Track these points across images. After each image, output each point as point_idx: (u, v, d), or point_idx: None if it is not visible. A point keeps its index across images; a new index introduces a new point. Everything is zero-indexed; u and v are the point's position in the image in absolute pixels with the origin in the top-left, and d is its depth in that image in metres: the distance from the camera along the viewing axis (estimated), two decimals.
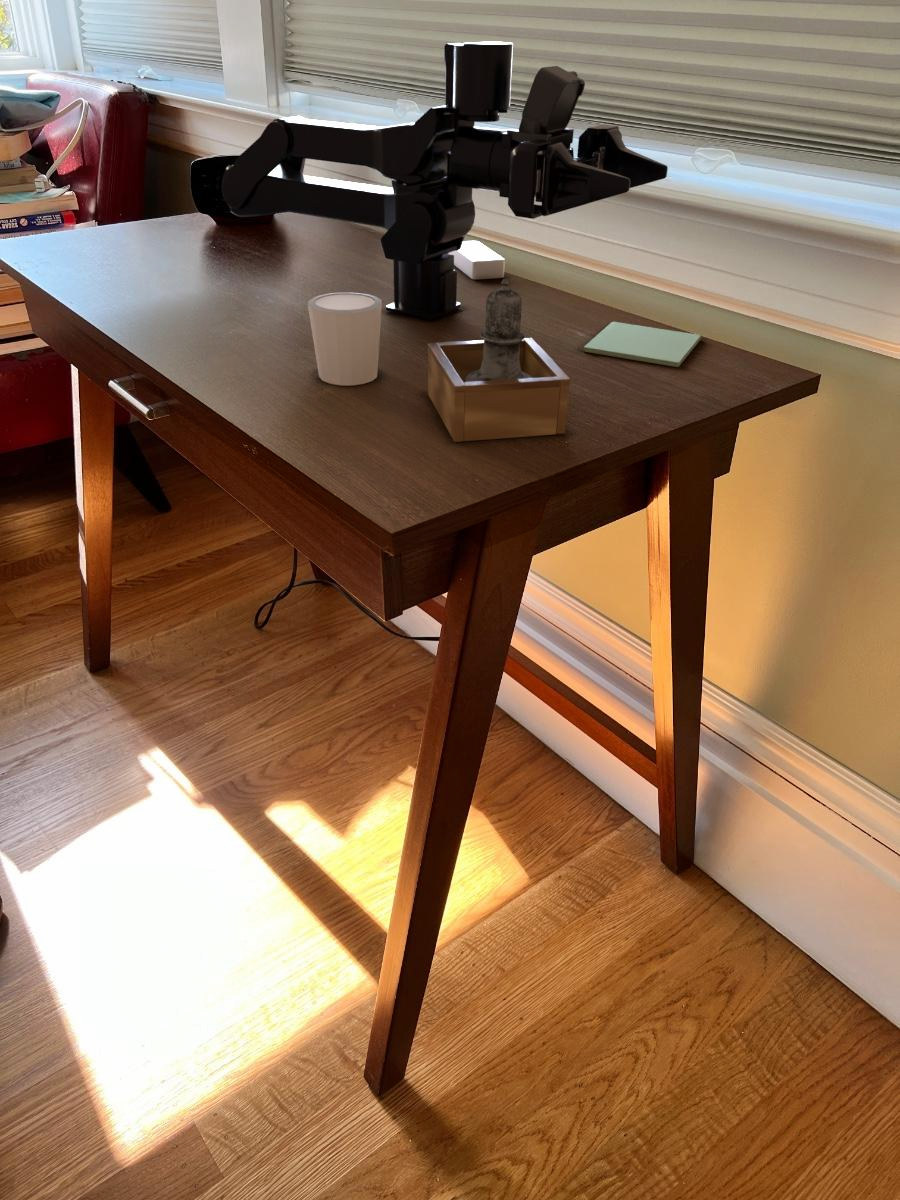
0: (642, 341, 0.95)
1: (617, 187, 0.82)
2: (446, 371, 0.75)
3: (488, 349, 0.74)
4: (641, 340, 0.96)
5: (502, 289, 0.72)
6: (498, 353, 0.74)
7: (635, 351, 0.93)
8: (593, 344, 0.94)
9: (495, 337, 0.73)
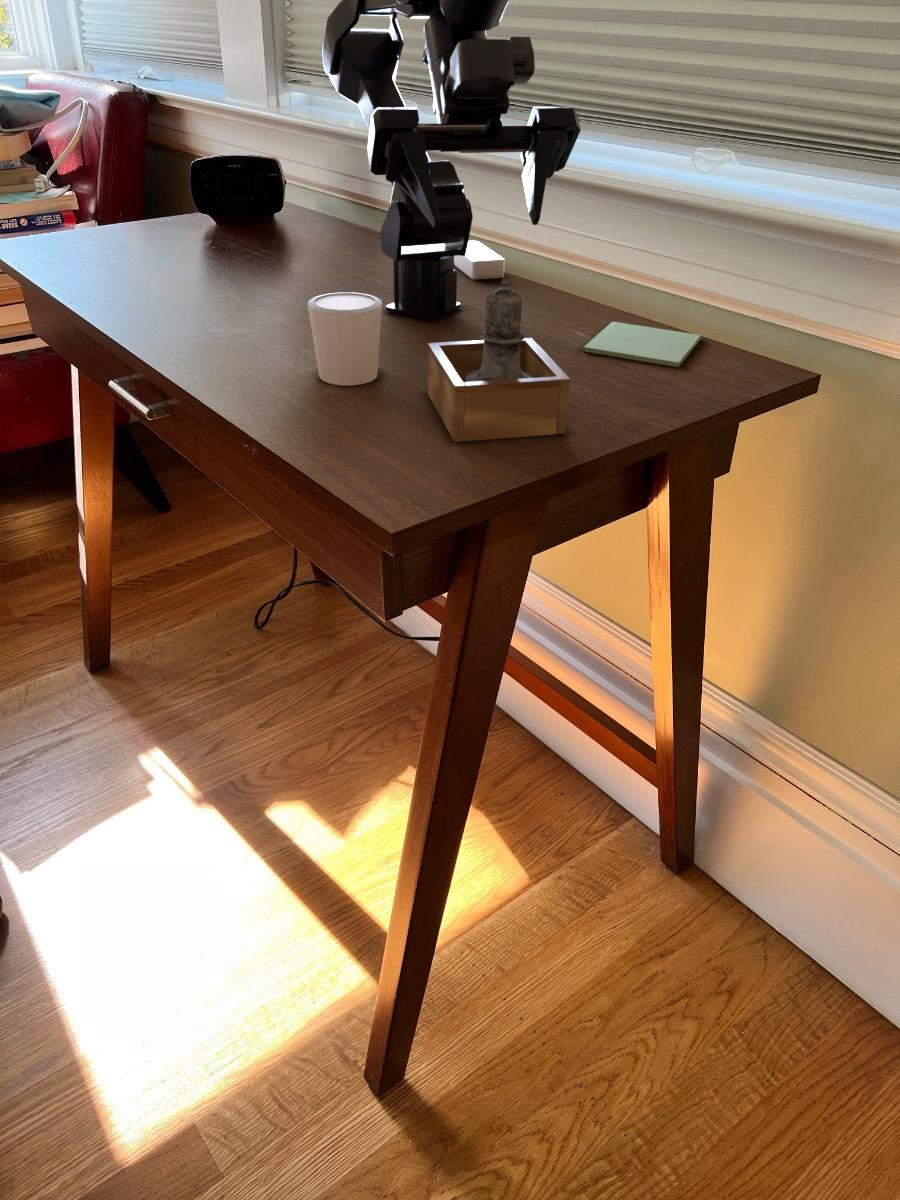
0: (642, 341, 0.95)
1: (429, 217, 0.80)
2: (446, 371, 0.75)
3: (488, 349, 0.74)
4: (641, 340, 0.96)
5: (502, 289, 0.72)
6: (498, 354, 0.74)
7: (635, 351, 0.93)
8: (593, 344, 0.94)
9: (495, 337, 0.73)
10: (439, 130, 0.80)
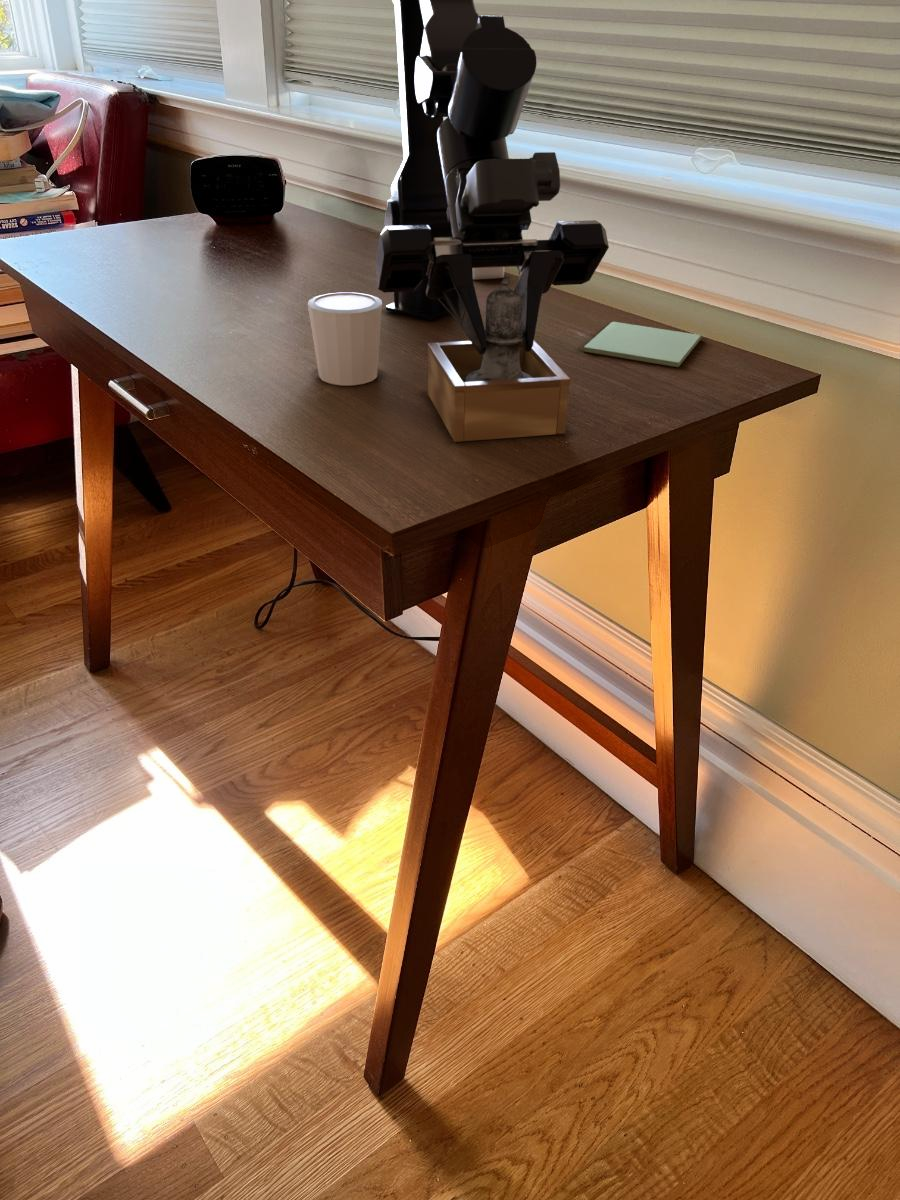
0: (642, 341, 0.95)
1: (475, 342, 0.74)
2: (446, 371, 0.75)
3: (488, 349, 0.74)
4: (641, 340, 0.96)
5: (502, 289, 0.72)
6: (498, 354, 0.74)
7: (635, 351, 0.93)
8: (593, 344, 0.94)
9: (495, 337, 0.73)
10: None
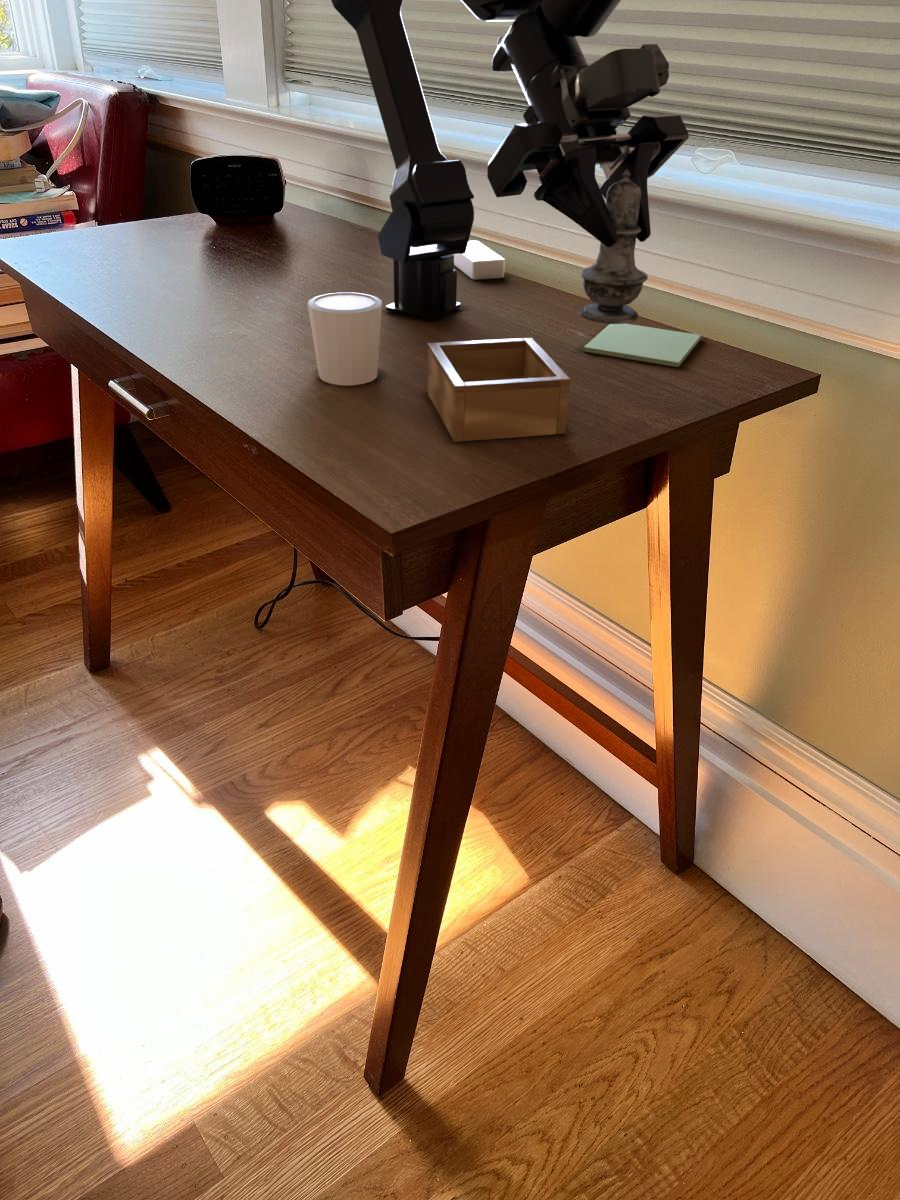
0: (642, 341, 0.95)
1: (603, 236, 0.76)
2: (446, 371, 0.75)
3: None
4: (641, 340, 0.96)
5: (626, 181, 0.75)
6: (623, 245, 0.77)
7: (635, 351, 0.93)
8: (593, 344, 0.94)
9: (621, 229, 0.76)
10: None
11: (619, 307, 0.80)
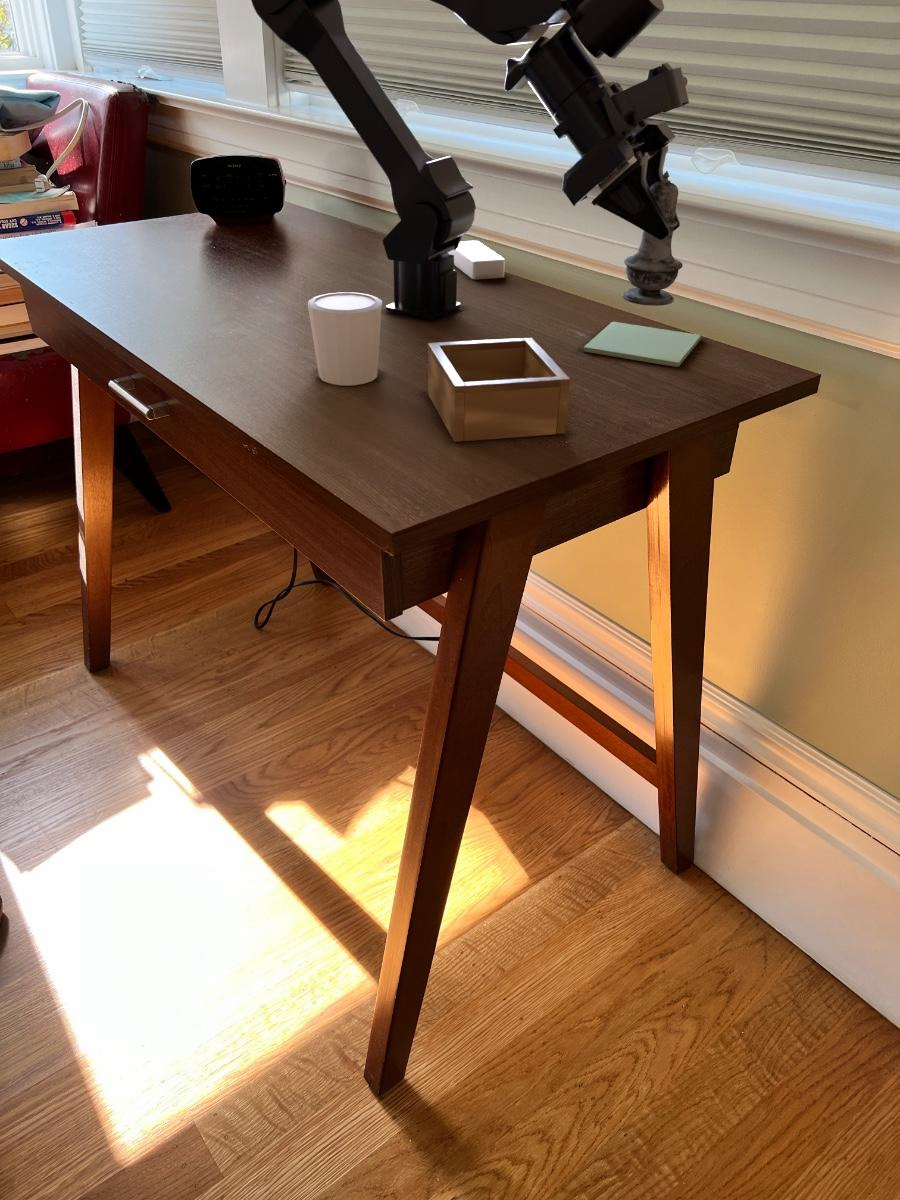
0: (642, 341, 0.95)
1: (657, 231, 0.87)
2: (446, 371, 0.75)
3: None
4: (641, 340, 0.96)
5: (667, 181, 0.87)
6: (668, 236, 0.89)
7: (635, 351, 0.93)
8: (593, 344, 0.94)
9: (667, 222, 0.88)
10: None
11: (659, 290, 0.93)
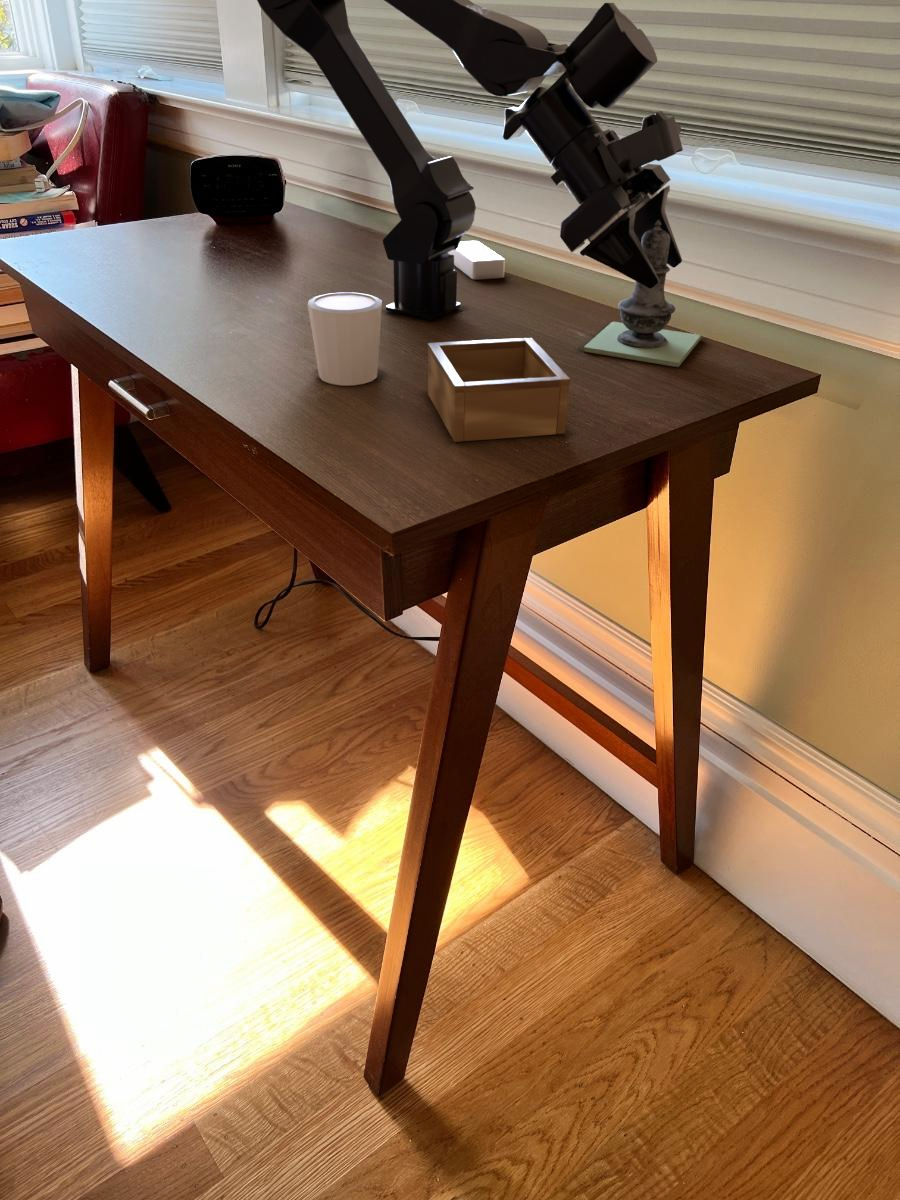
0: None
1: (646, 280, 0.87)
2: (446, 371, 0.75)
3: None
4: None
5: (659, 229, 0.89)
6: (661, 282, 0.91)
7: (635, 351, 0.93)
8: (593, 344, 0.94)
9: (660, 269, 0.90)
10: None
11: (653, 333, 0.95)
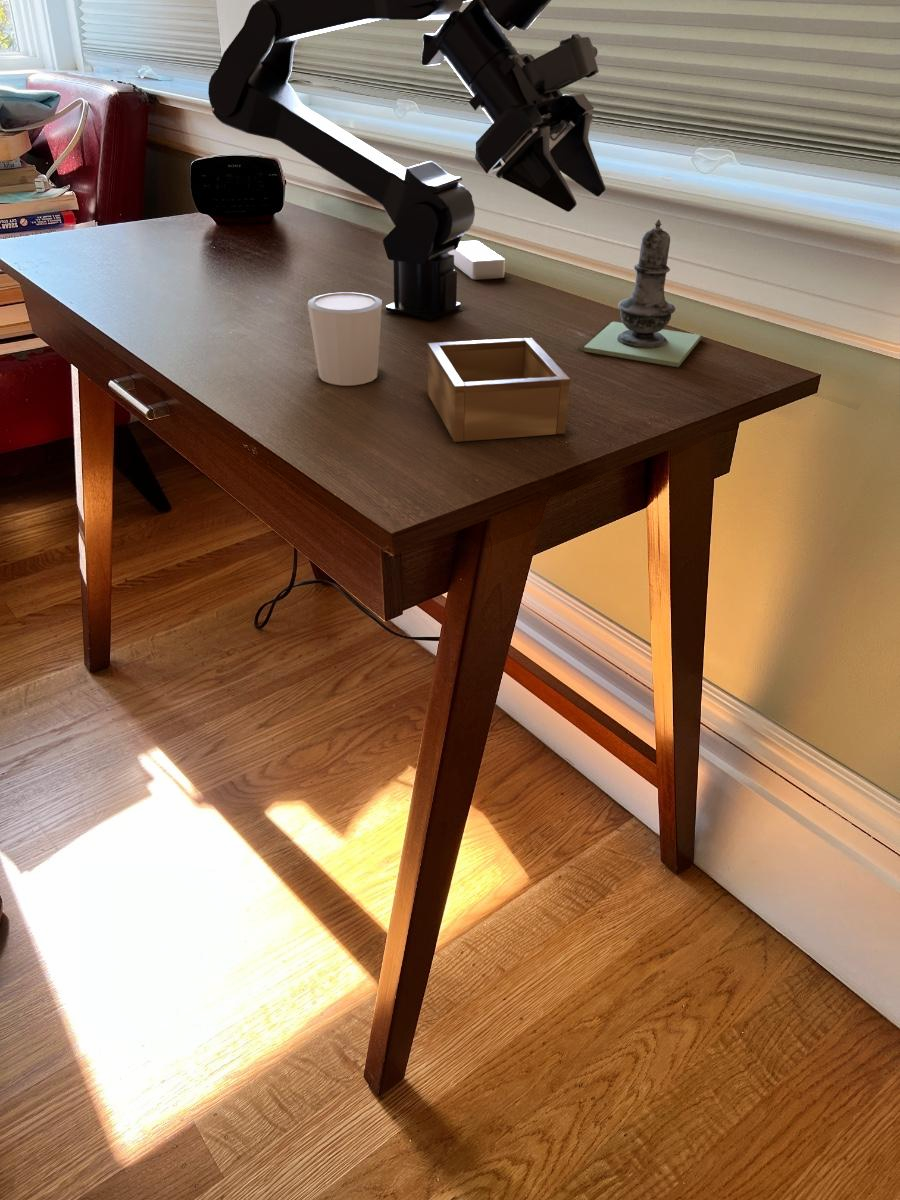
0: None
1: (563, 202, 0.87)
2: (446, 371, 0.75)
3: (653, 280, 0.91)
4: None
5: (660, 229, 0.89)
6: (661, 282, 0.91)
7: (635, 351, 0.93)
8: (593, 344, 0.94)
9: (660, 269, 0.90)
10: None
11: (653, 332, 0.95)
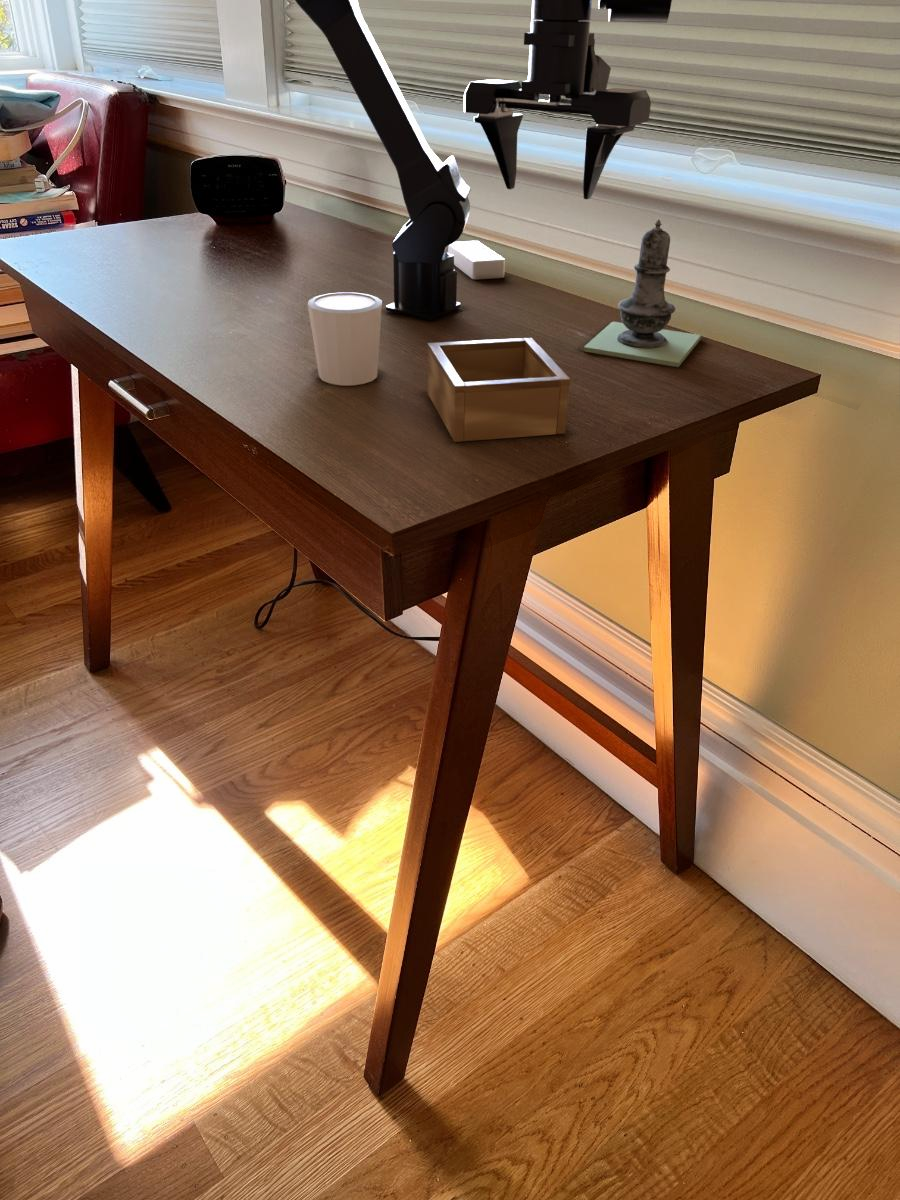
0: None
1: (591, 189, 0.94)
2: (446, 371, 0.75)
3: (653, 280, 0.91)
4: None
5: (660, 229, 0.89)
6: (661, 282, 0.91)
7: (635, 351, 0.93)
8: (593, 344, 0.94)
9: (660, 269, 0.90)
10: None
11: (653, 332, 0.95)
